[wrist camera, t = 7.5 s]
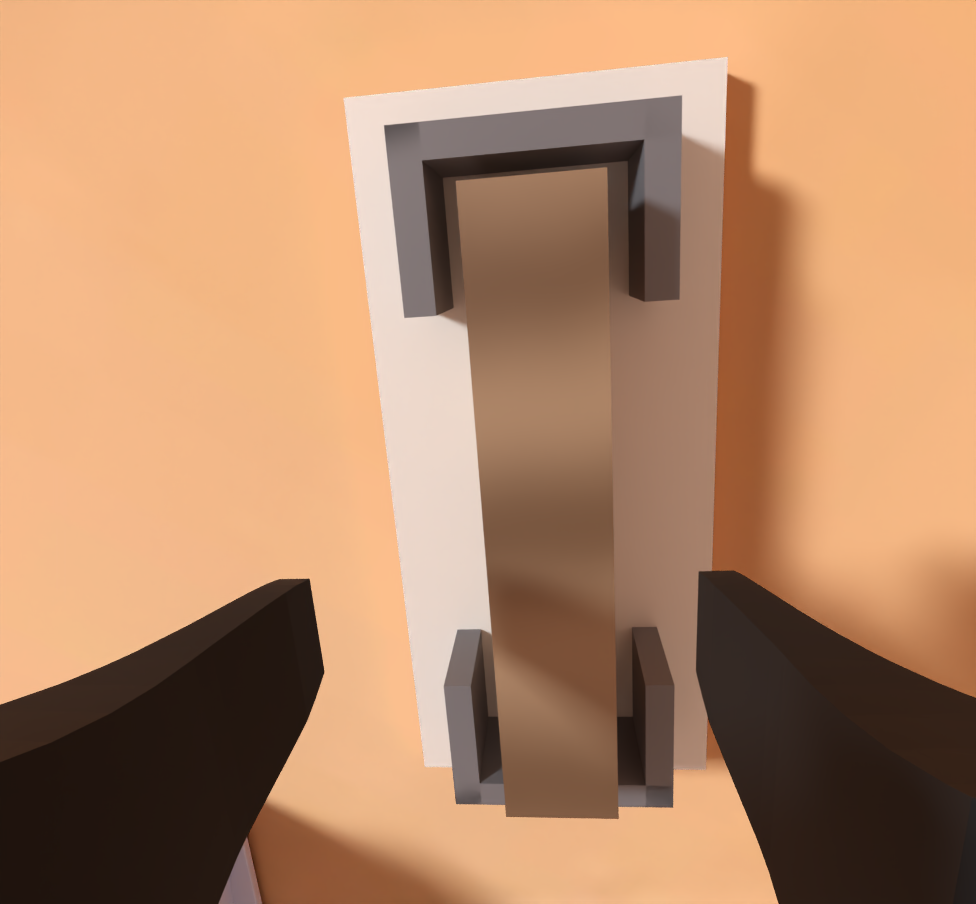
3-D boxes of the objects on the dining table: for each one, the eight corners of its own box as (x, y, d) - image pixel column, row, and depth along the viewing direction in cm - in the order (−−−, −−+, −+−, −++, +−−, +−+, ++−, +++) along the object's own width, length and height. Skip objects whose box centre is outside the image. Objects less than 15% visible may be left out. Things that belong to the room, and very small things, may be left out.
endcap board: (699, 748, 23) (729, 845, 19) (429, 746, 24) (407, 837, 20) (717, 68, 17) (767, 10, 13) (354, 106, 18) (302, 63, 14)
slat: (602, 695, 22) (618, 818, 17) (515, 696, 22) (506, 816, 17) (590, 194, 17) (607, 166, 12) (480, 204, 17) (455, 180, 13)
